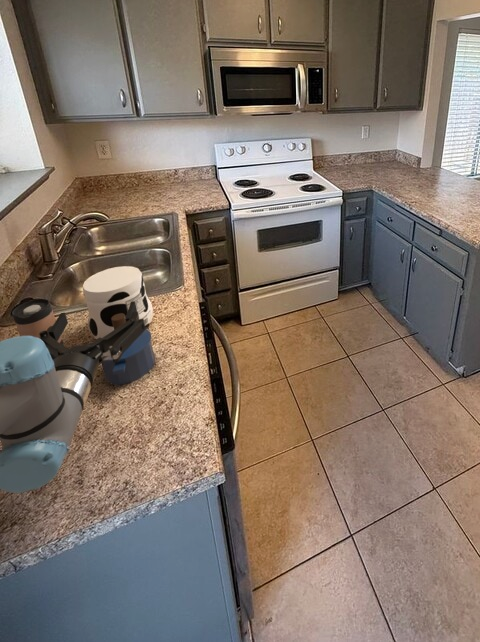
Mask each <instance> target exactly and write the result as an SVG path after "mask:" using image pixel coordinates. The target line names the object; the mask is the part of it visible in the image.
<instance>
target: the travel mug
mask: <svg viewBox="0 0 480 642" xmlns="http://www.w3.org/2000/svg"><path fill="white" fill-rule="evenodd" d="M52 307H53V306H52V304H51V302H50V300H49V299H47V298H37V299H32V300H29V301H25V302H24V303H22V304H20V305H18V306H16V307H15V308H13V310H12V312H11V315H12V318H13V321H14V323H15V326H16V330H17V332H18V336H33V337H37V338H41V337H40V334H39V333H40V332H42V331H47V329H48V328H49V327H50V326H53V325H54V323H55V322H56V320H57V318H56V316H55V314H54V310H53V308H52ZM57 342H59V343H60V344H61V345H62V344H63V345H65V344H64V340H63V338H62V335H61V336H60V338H59V340H58V341H57ZM49 353H50V352H49ZM50 355H51V358H52V359H54V358H56V357H55V356H54V355H52V354H51V353H50Z"/></svg>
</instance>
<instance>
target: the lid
mask: <svg viewBox="0 0 480 642" xmlns="http://www.w3.org/2000/svg"><path fill="white" fill-rule="evenodd" d="M111 320H112V324H113V327H114V330H115V329H116V328H118V327H119V326H121V325H122V324H124V323H125V322H126V320H125V314H123V313H120V314H116V315H114V316H113V317H112V318H111ZM150 341H151V342H152V333H151V331H150V330H149V329H147V328H146V330H145V331H144V332H143V333H142V334H141V335H140V336H139V337H138V338H137V339H136V340H135V341H134V342H133V344H132V345H131V346H130V347H129V348H128V349H127V350H126V351H125V352H124V353H123V354H122V356H121V358H120V360H119V361H123V360H126V359H129V358H131V357H133V356H135V355H137V354H139V353H140V352H142V351H143V350H144V349H145V348H146V347H147V346H148V345H149V343H150ZM97 347H98V348H99V349H100V347H99V345H98V346H97ZM104 361H105V362H113V361H112V359H110V360H104Z"/></svg>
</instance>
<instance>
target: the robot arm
mask: <svg viewBox="0 0 480 642" xmlns="http://www.w3.org/2000/svg"><path fill="white" fill-rule="evenodd" d="M125 320H126V322H125V323H124V324H122V325H121V326H119V327H118V328H116V329H115V330H113V331H112V332H110V333H109V334H108V335H106V336H105V337H103V338H101V337H100V338H98V339H96V338H95V339H94V341H91V342H87V343H83V344H77V345H72V347H67V346H66V345H65V344H64V343H63V344H64V345H63V344H62V345H61V344H60V343H59V342H57V341H58V340H59V338H60V336H61V337H62V334H63V332H64V331H65V329H66V327H67V326H68V323H69V321H68V318H67V315H66V312H61V313H60V314H59V315H58V317H57V318H56V322H55V323H54V325H53V326H50V327H49V328H48V329H47V331H42V332H40V333H39V334H40V337H41V338H37V337H33V336H20V335H18V336H14V337H10V338H6V339H3V340H1V341H0V444H1V450H0V490H1V491H3V492H6V493H14V494H21V493H27V492H29V491H33V490H38V489H40V488H42V487H44V486H46V485H47V484H49V483H50V482H51V481H53V479H54V478H55V477H56V476H57V475H58V473H59V471H60V469H61V467H62V464H63V462H64V459H65V457H66V456H67V455H68V453H69V451H70V446H71V443H72V440H73V438H74V435H75V432H76V430H77V426H78V424H79V421H80V418H81V416H82V413H83V411H84V408H85V405H86V403H87V401H88V397H89V395H90V392H91V389H92V387H93V384H94V382H95V380H96V377H97V375H98V370H99V366H100V365H101V363H102V362H103V361H104V360H110V359H112V361H113V363H116V362H118V361H119V360H120V358H121V356H122V354H123V353H124V352H125V351H126V350H127V349H128V348H129V347H130V346H131V345H132V344H133V342H134V341H135V340H136V339H137V338H138V337H139V336H140V335H141V334H142V333H143V332H144V331H145V330H146V329H147V328H145V323H144V319H139V315H138V312H137V309H136V304H135V301H133V302H131V304H130V306H129V309H128V312H127V315H126V318H125ZM98 346H99V347H100V349H99V348H98ZM49 352H50V353H51V354H52V355H54V356H55V357H56V358H54V359H52V358H51V355H50V353H49Z"/></svg>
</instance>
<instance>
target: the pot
mask: <svg viewBox="0 0 480 642" xmlns="http://www.w3.org/2000/svg"><path fill="white" fill-rule="evenodd" d="M155 363H156V358H155V354H154V348H153V344H152V340H151V341H150V343H149V345H148V346H147V347H146V348H145V349H144V350H143V351H142V352H140V353H139V354H137V355H135V356H133V357H131V358H129V359H126V360H123V361H118V362H116V363H113V362H105V361H103V362H102V363H101V364H100V365H101V368H102V372H103V375H104V378H105V381H106V382H108V383H109V384H110V385H117V386H122V385H126V384H131V383H134V382H136V381H137V380H140V379H142V378H143V377H144V376H145V375H147V374H148V373H150V371H152V370H153V369H154V367H155Z"/></svg>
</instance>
